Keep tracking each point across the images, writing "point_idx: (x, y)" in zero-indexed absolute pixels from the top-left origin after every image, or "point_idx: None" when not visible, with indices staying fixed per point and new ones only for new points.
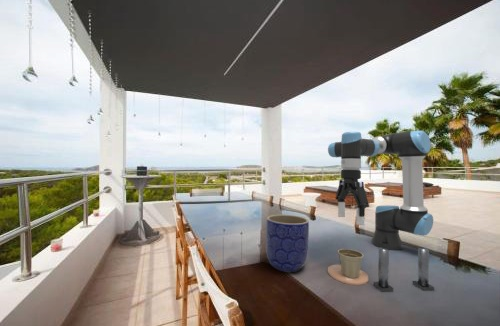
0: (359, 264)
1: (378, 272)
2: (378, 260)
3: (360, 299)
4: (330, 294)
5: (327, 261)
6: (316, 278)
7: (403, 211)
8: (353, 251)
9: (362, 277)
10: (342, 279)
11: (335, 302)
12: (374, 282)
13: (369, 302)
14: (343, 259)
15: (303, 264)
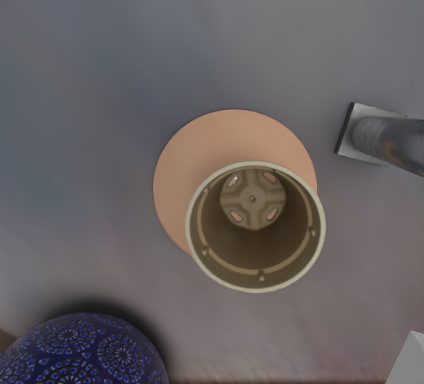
0: (302, 205)
1: (378, 158)
2: (397, 162)
3: (381, 278)
4: (319, 343)
5: (96, 175)
6: (218, 318)
7: None
8: (223, 173)
9: (288, 163)
10: None
11: (359, 359)
12: (342, 153)
13: (407, 265)
14: (259, 271)
15: (157, 354)
